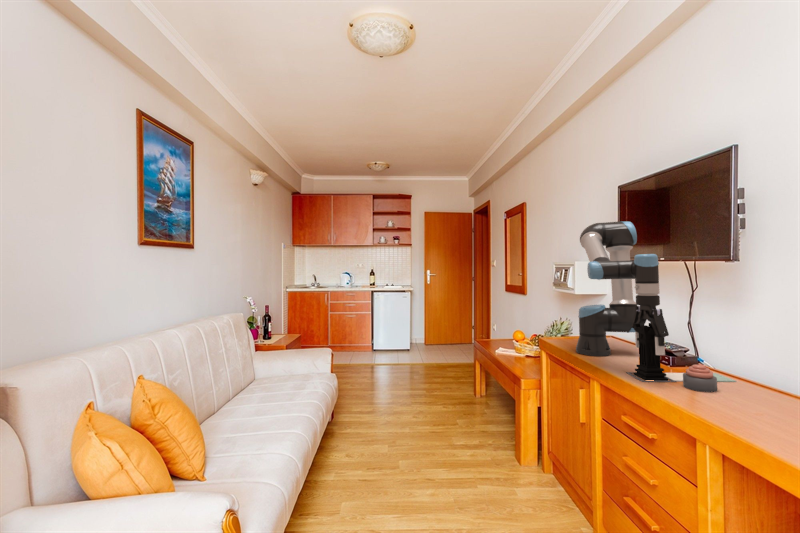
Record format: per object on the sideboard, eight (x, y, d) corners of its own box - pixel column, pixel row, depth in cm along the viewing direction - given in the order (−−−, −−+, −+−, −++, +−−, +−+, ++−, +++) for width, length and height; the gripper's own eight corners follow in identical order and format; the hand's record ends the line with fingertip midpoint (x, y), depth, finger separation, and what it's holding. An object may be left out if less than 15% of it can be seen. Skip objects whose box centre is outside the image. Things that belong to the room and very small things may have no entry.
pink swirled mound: (681, 372, 129) (680, 363, 129) (703, 372, 128) (703, 363, 128) (695, 378, 122) (694, 368, 122) (718, 378, 121) (718, 368, 121)
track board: (626, 373, 144) (626, 371, 144) (714, 373, 141) (713, 372, 141) (642, 381, 133) (642, 380, 133) (738, 382, 129) (738, 381, 129)
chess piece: (655, 374, 141) (653, 322, 142) (668, 380, 133) (666, 326, 134) (633, 374, 142) (631, 323, 142) (645, 380, 134) (643, 326, 134)
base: (677, 383, 130) (676, 372, 130) (704, 383, 129) (704, 372, 129) (694, 392, 121) (694, 380, 121) (724, 392, 120) (723, 380, 120)
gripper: (620, 293, 151) (622, 344, 150) (655, 296, 126) (658, 358, 126) (640, 292, 150) (642, 344, 150) (679, 296, 125) (681, 358, 125)
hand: (649, 351), depth 138 cm, fingers open, 13 cm apart
